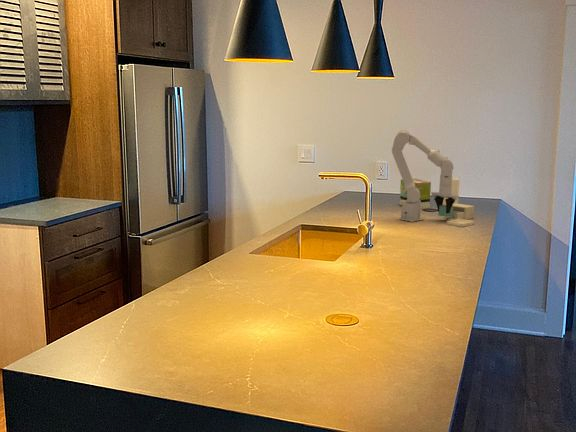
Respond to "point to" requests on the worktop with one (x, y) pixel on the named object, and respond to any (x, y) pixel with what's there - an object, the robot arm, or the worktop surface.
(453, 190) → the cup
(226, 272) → the worktop surface
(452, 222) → the tray
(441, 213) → the tall grey-green carton
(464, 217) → the bay
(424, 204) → the tea box
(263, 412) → the worktop surface
